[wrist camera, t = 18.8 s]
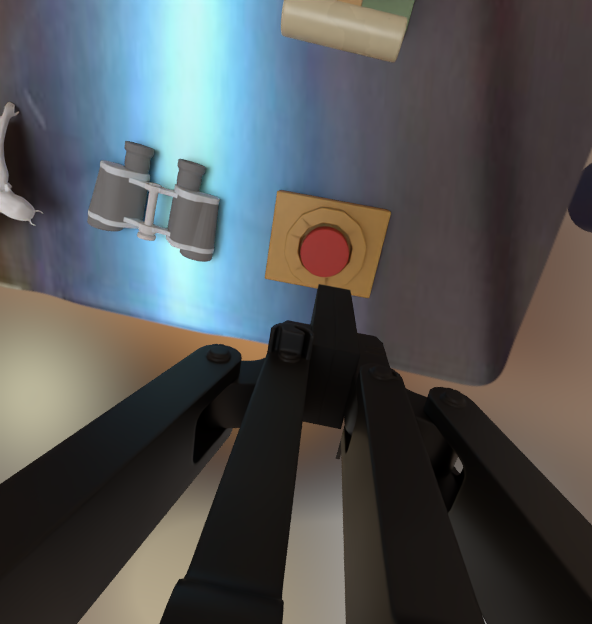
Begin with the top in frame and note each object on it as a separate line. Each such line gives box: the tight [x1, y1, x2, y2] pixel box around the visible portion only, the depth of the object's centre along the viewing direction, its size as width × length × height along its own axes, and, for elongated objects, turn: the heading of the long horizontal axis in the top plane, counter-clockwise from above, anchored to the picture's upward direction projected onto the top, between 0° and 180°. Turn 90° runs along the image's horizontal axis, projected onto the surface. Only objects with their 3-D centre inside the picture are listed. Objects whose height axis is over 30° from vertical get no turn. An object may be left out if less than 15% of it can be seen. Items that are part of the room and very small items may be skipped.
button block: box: [265, 190, 391, 298], centre depth 33 cm, size 10×8×4 cm
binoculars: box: [87, 141, 220, 262], centre depth 33 cm, size 12×8×4 cm, turn 72°
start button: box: [300, 226, 349, 277], centre depth 31 cm, size 4×4×2 cm
